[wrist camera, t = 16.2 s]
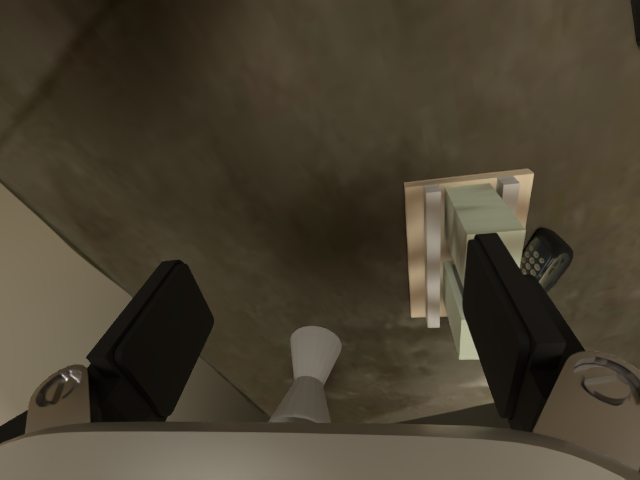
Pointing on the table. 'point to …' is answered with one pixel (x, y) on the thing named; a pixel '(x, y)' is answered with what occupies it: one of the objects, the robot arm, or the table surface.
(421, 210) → the rail board
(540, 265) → the mobile phone
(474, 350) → the pale green tall block
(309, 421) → the lava lamp
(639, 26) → the phone
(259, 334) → the table surface
